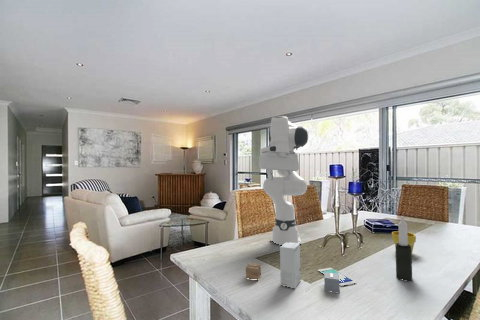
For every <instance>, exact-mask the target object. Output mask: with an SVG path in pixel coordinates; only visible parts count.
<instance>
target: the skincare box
mask: <svg viewBox="0 0 480 320" xmlns="http://www.w3.org/2000/svg"><path fill="white" fill-rule="evenodd" d="M279 260H280V261H279V264H280V265H279V268H280V272H279V273H280V274H279V276H280V286H281V285H284V286H283V287H285V286H287V287H286V288H288V287H292V288H295V289H296V288H297V286H298V285H299V283H300V282H301V281H302V273H301V246H300V244H299V243H292V242H286V243H285V244H283V245H282V246H279ZM300 280H301V281H300ZM297 284H298V285H297ZM292 288H291V289H292Z"/></svg>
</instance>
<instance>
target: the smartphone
mask: <svg viewBox="0 0 480 320" xmlns="http://www.w3.org/2000/svg"><path fill="white" fill-rule="evenodd" d="M318 271H320V272H321V273H323V274H324V272H329V273H337V274H338V273H340V274H342V275H344V276H345V277H346V278H344V279H345V280H343V281H344V282H343V281H342V280H341V279H340V280H341V281H342V282H341V281H339V284H340V285H342V286H344V285H349V284H353V283H356V284H357V281H356V280H353V279H352V278H350V277H348V276H347V275H345V274H343V273H341V272H340V271H338V270H337V269H334V268H332V267H327V268H320V269H317V272H318ZM322 271H324V272H322ZM320 272H319V273H320ZM321 273H320V274H321ZM323 274H322V275H323ZM340 285H339V286H340ZM342 286H341V287H342ZM349 286H350V285H349ZM344 287H345V286H344Z"/></svg>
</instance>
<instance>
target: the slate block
mask: <svg viewBox="0 0 480 320" xmlns="http://www.w3.org/2000/svg"><path fill="white" fill-rule="evenodd" d="M323 276H324V292H326V291H332V292H339V293H340V285H339V274H337V273H329V272H324V275H323ZM332 292H331V293H332ZM339 293H338V294H339Z"/></svg>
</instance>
